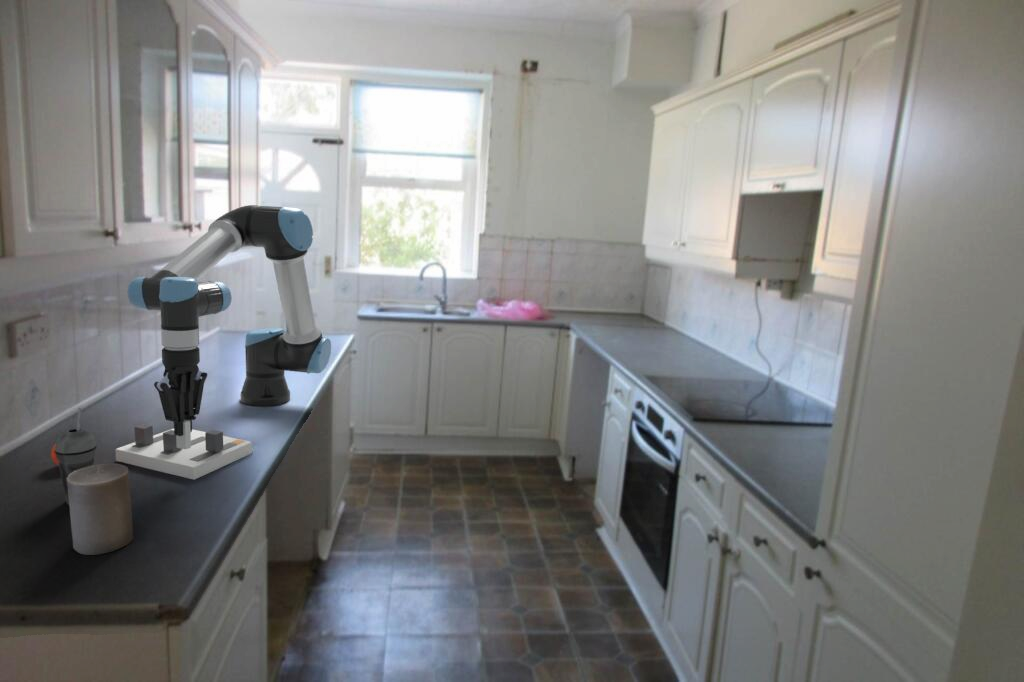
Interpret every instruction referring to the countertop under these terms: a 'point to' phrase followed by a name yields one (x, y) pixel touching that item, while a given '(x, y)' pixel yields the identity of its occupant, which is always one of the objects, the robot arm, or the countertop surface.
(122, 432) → the countertop surface
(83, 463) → the beverage cup
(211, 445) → the handle
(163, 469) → the breaker panel
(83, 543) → the pillar candle
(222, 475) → the countertop surface
